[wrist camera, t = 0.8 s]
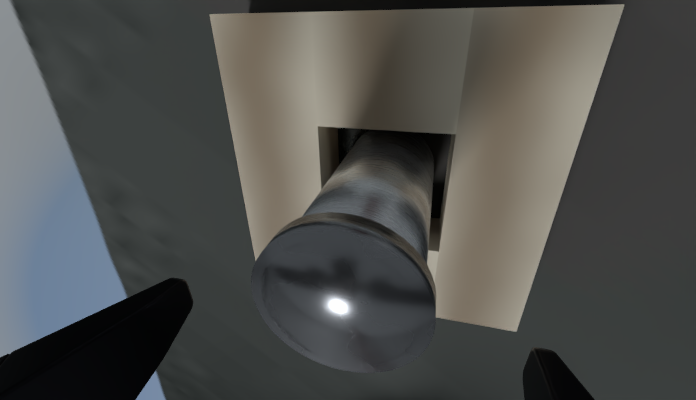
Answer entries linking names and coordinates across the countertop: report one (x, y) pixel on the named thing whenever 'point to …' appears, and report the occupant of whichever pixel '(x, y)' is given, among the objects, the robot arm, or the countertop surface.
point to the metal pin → (357, 261)
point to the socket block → (423, 123)
